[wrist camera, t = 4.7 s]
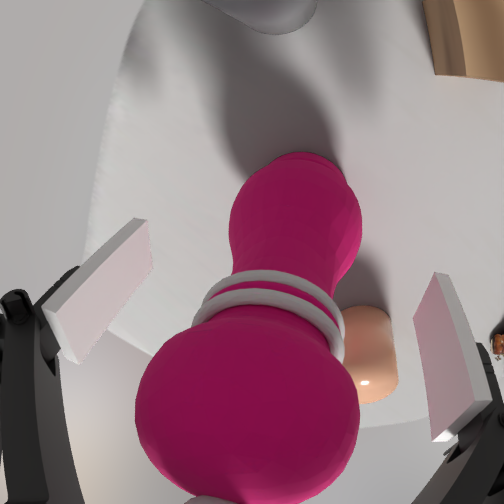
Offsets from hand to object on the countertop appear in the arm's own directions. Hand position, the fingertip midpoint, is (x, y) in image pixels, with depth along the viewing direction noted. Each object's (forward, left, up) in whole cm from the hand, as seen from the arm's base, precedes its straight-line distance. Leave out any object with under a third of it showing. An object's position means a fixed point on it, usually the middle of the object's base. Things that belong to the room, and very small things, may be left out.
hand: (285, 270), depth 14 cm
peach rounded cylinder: (-7, +11, -9) cm, 16 cm away
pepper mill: (0, 0, -9) cm, 9 cm away
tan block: (-9, -13, -9) cm, 18 cm away
